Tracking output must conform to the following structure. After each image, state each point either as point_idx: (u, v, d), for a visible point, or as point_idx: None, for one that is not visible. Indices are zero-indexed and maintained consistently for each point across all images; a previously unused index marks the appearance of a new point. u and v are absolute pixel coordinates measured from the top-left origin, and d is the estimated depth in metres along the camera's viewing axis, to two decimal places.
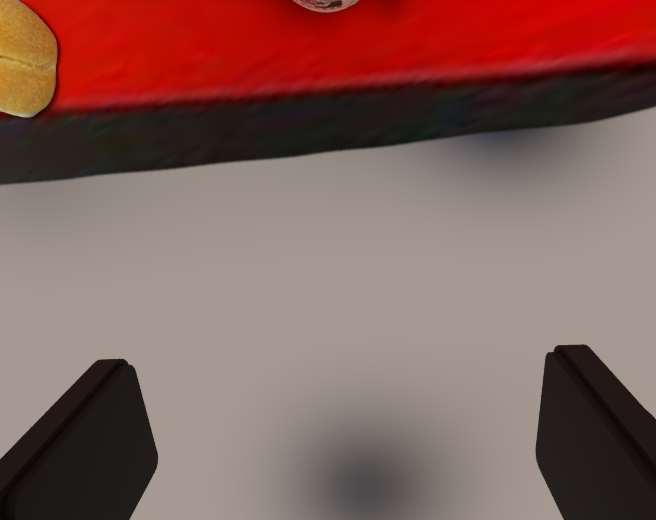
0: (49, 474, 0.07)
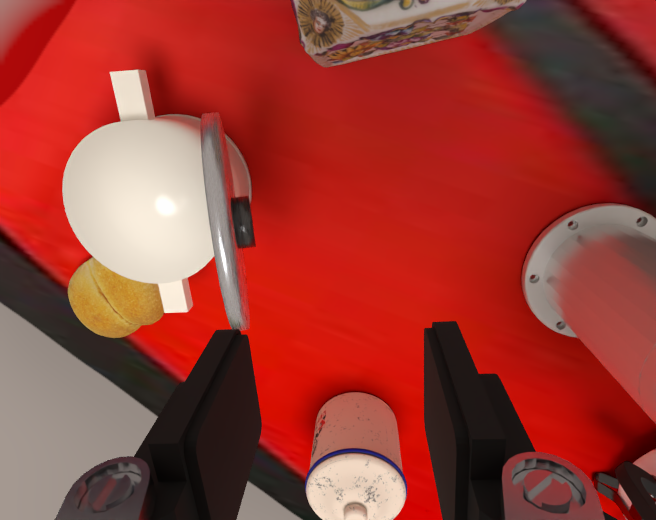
0: (211, 422, 0.08)
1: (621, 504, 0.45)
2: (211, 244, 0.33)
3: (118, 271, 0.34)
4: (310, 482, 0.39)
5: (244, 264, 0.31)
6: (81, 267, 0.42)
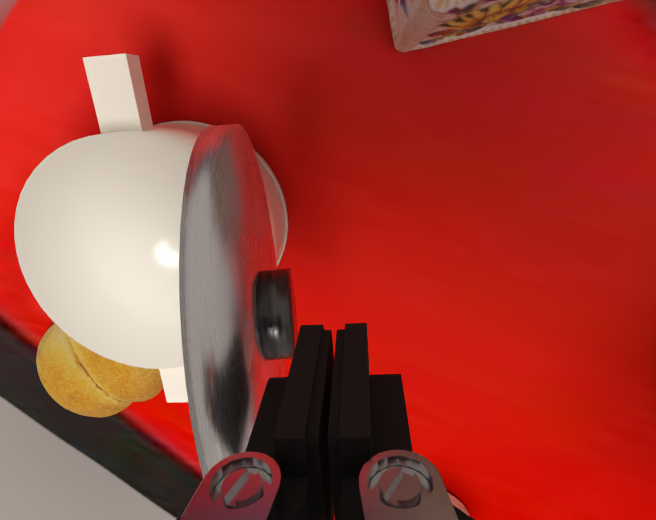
0: (322, 417, 0.08)
1: None
2: None
3: (99, 351, 0.23)
4: None
5: None
6: (53, 327, 0.31)
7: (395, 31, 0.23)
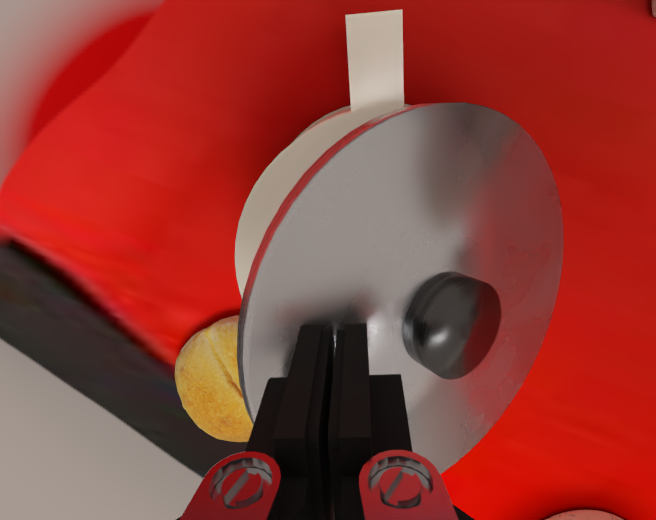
0: (322, 417, 0.08)
1: None
2: None
3: None
4: None
5: (516, 380, 0.17)
6: (197, 341, 0.27)
7: None
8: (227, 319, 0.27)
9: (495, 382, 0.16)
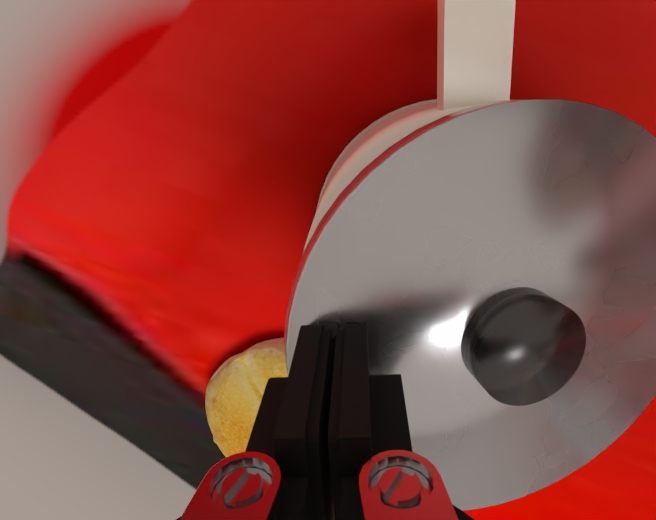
0: (321, 417, 0.08)
1: None
2: None
3: None
4: None
5: (616, 425, 0.14)
6: (231, 368, 0.24)
7: None
8: (264, 343, 0.24)
9: (584, 421, 0.14)
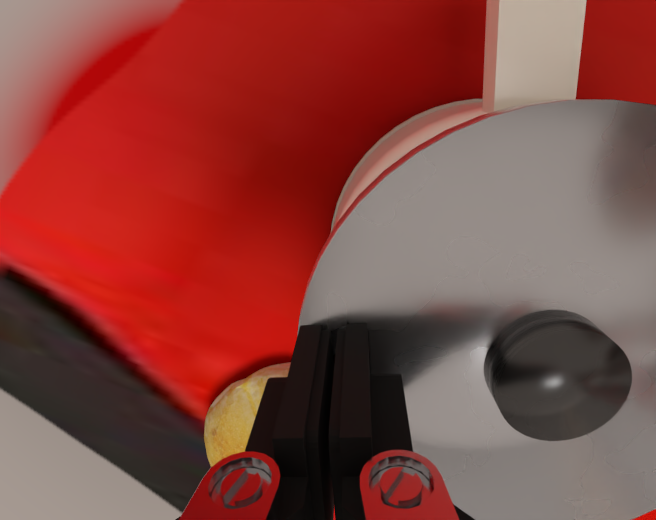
0: (321, 417, 0.08)
1: None
2: None
3: None
4: None
5: None
6: (232, 396, 0.22)
7: None
8: (270, 369, 0.22)
9: (635, 469, 0.12)
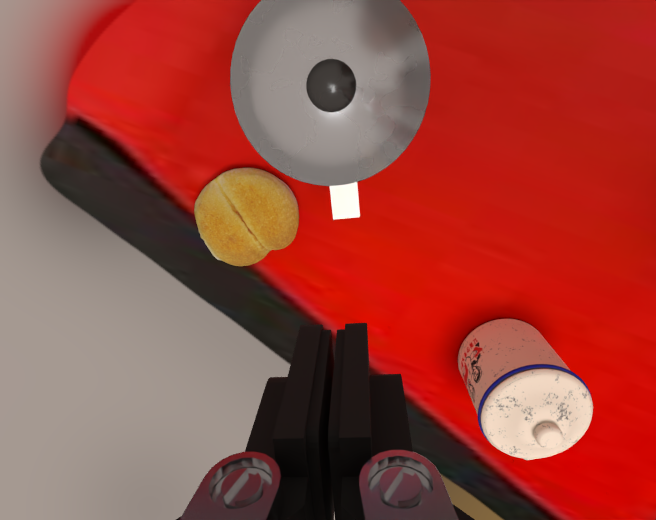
0: (322, 417, 0.08)
1: None
2: None
3: None
4: (489, 404, 0.36)
5: (399, 145, 0.29)
6: (209, 185, 0.38)
7: None
8: (230, 170, 0.38)
9: (379, 140, 0.29)
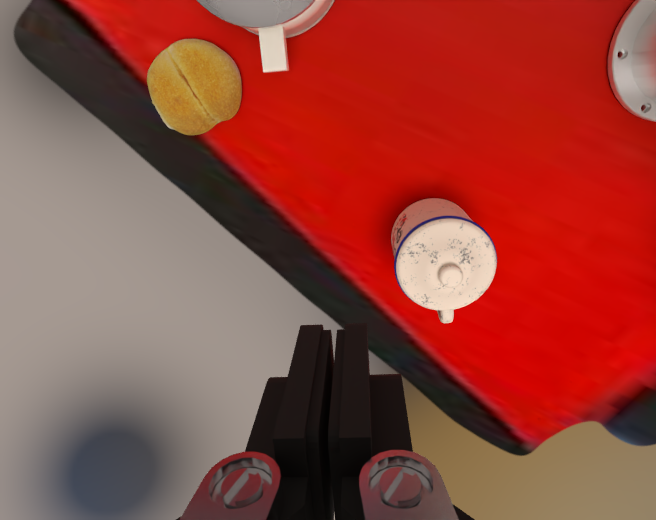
0: (321, 417, 0.08)
1: None
2: None
3: None
4: (402, 252, 0.39)
5: None
6: (160, 54, 0.42)
7: None
8: None
9: None
